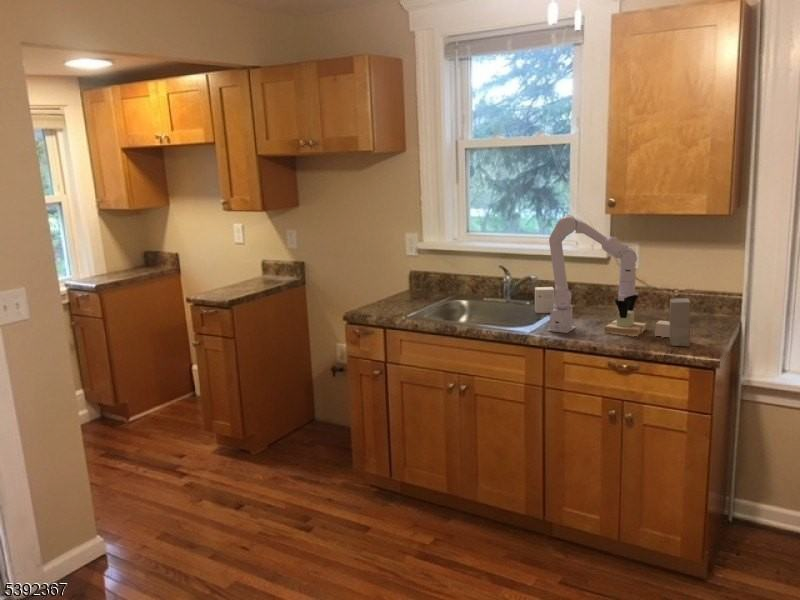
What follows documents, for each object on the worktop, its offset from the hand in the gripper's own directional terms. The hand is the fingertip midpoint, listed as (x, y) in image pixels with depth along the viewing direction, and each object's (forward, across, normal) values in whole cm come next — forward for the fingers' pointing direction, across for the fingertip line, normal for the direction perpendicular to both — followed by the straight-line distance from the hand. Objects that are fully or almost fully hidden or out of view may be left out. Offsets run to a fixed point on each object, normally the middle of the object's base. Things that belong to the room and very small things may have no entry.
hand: (626, 315), depth 246 cm
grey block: (+6, 0, -14) cm, 15 cm away
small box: (+6, +16, +40) cm, 44 cm away
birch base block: (+7, 0, 0) cm, 7 cm away
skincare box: (+6, -8, -21) cm, 23 cm away
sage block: (+3, 0, 0) cm, 3 cm away
